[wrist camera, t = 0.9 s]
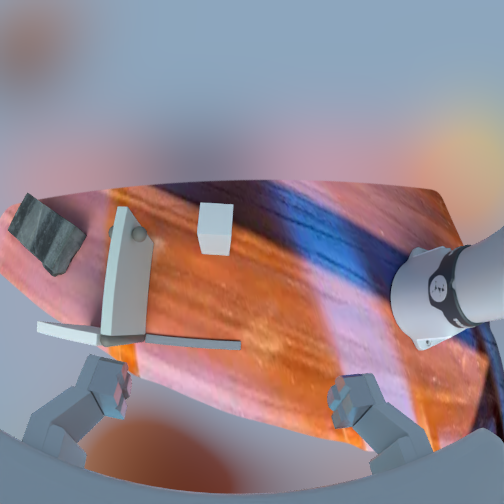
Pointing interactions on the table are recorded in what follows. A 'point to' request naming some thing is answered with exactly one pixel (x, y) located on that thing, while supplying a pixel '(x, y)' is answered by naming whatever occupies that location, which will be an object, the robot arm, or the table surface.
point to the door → (126, 282)
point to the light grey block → (215, 228)
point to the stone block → (46, 235)
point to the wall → (94, 335)
